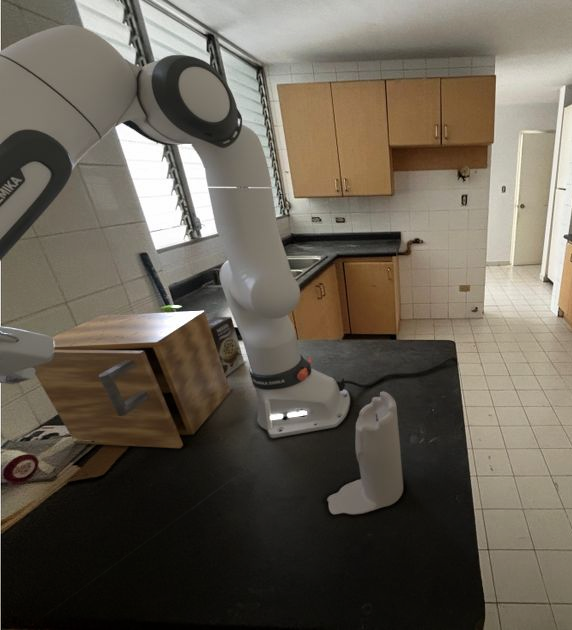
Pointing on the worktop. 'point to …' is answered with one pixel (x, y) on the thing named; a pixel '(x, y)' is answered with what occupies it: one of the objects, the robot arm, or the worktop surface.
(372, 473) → the white l-shaped piece
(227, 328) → the coffee box
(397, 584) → the worktop surface
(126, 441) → the cupboard door
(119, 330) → the cupboard
